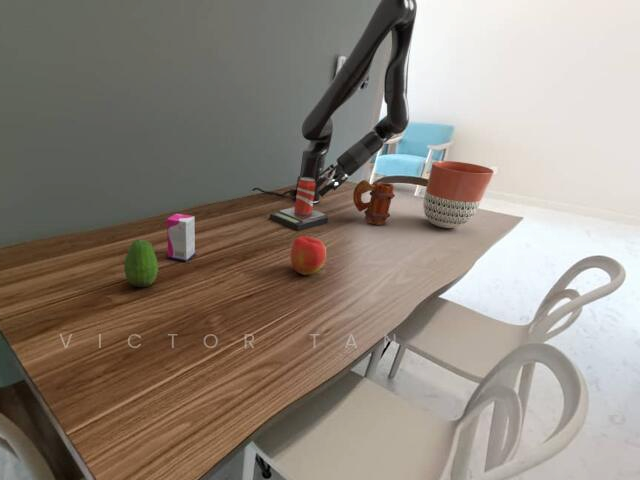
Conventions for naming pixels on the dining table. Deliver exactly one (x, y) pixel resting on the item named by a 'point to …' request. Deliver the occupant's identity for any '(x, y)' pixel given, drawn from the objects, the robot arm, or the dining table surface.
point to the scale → (296, 221)
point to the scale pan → (300, 217)
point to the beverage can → (305, 195)
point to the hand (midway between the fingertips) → (316, 191)
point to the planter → (454, 192)
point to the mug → (374, 201)
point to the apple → (307, 255)
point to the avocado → (141, 264)
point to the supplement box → (181, 237)
